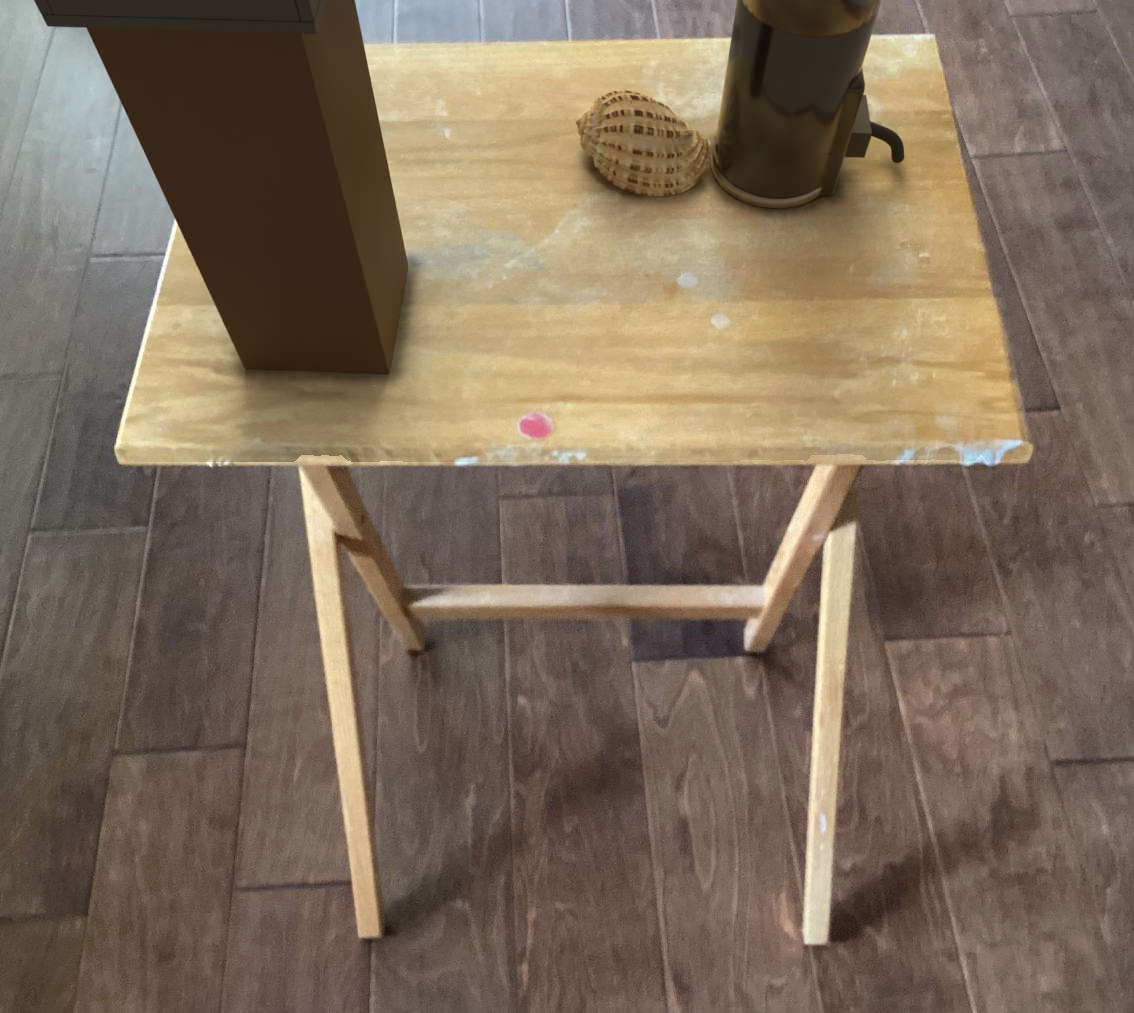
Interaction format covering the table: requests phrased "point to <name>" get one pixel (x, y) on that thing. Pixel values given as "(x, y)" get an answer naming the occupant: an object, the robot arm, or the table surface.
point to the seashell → (642, 144)
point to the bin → (265, 166)
